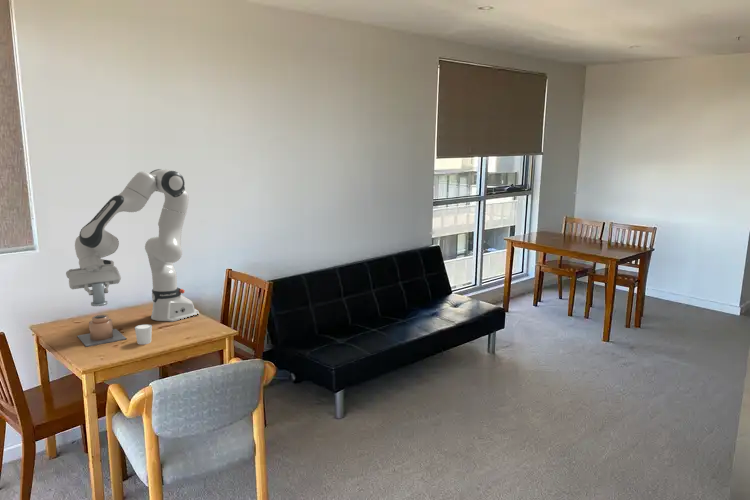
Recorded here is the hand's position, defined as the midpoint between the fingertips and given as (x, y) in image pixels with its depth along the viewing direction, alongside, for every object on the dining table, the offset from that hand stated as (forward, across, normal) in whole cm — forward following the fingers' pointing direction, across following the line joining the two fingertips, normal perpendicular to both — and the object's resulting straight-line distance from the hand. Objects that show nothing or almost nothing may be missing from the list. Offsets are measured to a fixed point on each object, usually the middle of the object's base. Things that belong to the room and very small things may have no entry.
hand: (98, 293), depth 244 cm
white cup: (+25, +13, +4) cm, 29 cm away
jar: (+14, 0, +15) cm, 20 cm away
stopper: (+3, 0, +4) cm, 5 cm away
